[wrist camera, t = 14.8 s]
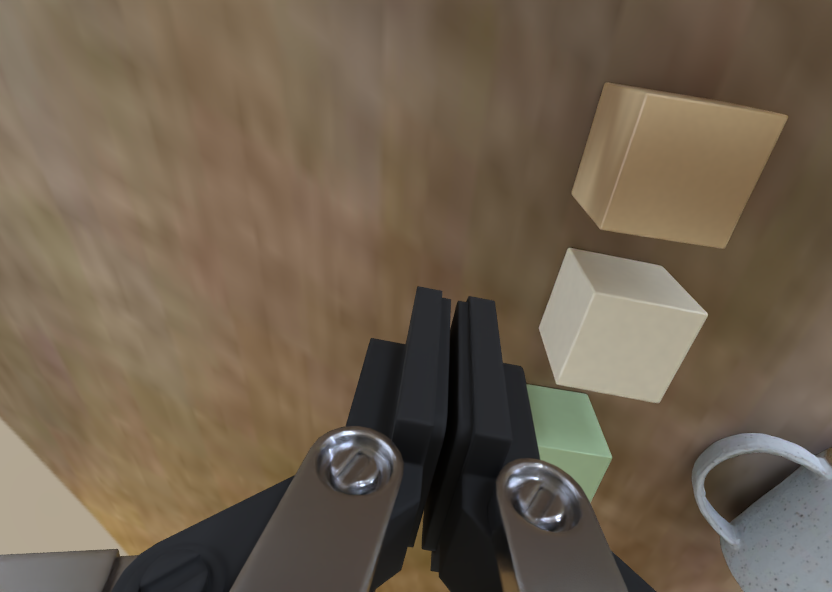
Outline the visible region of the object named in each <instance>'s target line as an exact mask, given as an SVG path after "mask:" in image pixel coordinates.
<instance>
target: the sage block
mask: <svg viewBox="0 0 832 592" xmlns="http://www.w3.org/2000/svg"><path fill="white" fill-rule="evenodd" d="M526 385H527V391H528V396H529V401H530V407H531V412H532V417H533V423H534V428H535V433H536V439H537V444H538V449H539V455H540V460H543V461H546V462H548V463H551V464H553V465H555V466H558V467H559V468H560V469H562V470H563V471H565V472H566V473H568V474H569V475H571V477H572V478H573V479H574V480H575V481H576V482H577V483H578V484H579V485H580V486H581V487H582V489H583V491H584V492H585V494H586V496H587V497H588V499H589V501H590V502H591V500H592V498H593V496H594V494H595V492H596V490H597V488H598V486H599V484H600V482H601V480H602V478H603V476H604V474H605V472H606V470H607V468H608V466H609V464H610V462H611V460H612V455H611V453H610V450H609V448H608V445H607V443H606V440H605V438H604V435H603V433H602V430H601V428H600V425H599V423H598V420H597V418H596V415H595V412H594V410H593V407H592V405H591V402H590V400H589V397H588V395H587V394H584V393H578V392H572V391H566V390H559V389H553V388H547V387H541V386H535V385H529V384H526Z"/></svg>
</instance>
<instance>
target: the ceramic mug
mask: <svg viewBox="0 0 832 592" xmlns="http://www.w3.org/2000/svg"><path fill="white" fill-rule="evenodd" d="M754 452H758V453H761V452H764V453H769V454H773V455H778V456H782V457H784V458H786V459H789V460H791V461H793V462H796V463H798V464H800V465H801V466H800V467H799V468H798V469H797V470H795V471H794V472H793V473H792V474H791V475H789V476H788V477H787V478H786V479H785V480H784V481H782V482H781V483H780V484H779V485H777V486H776V487H774V488H773V489H772V490H770V491H769V492H768V493H766V494H765V495H764V496H762V497H761V498H760V499H758V500H757V501H756V502H754V503H753V504H752V505H751V506H749V507H748V508H747V509H746V510H745V511H744V512H742V513H741V514H740V515H739V516H737V517H736V518H735V519H733V520H732V521H731V522H730V523H728V522H727V521H726V520H725V519H724V518H723V517H721V516H720V515H719V514H718V512H717V511H716V510H715V509H714V508H713V507H712V506H711V504H710V503H709V502H708V500H707V499H706V497H705V495H706V493H705V490H704V479H705V477H706V475H707V474H708V472H709V471H710V470H711V469H712V468H714V467H715V466H716V465H717V464H719V463H720V462H722V461H724V460H726V459H730V458H733V457H736V456H739V455H741V454H751V453H754ZM692 485H693V490H694V496H695V500H696V503H697V505H698V507H699V509H700V512H701V513H702V515H703V516H704V517H705V519H706V520H707V521H708V523H709V524H710V525H711V526H712V528H713V529H714V530H715V531H716V532H717V533H718V534H719V535H720V545H721V549H722V552H723V555H724V558H725V560H726V563H727V565H728V567H729V569H730V571H731V573H732V575H733V577H734V578H735V579H736V581H737V582H738V584H739V585H740V587H741V588H742V590H743V591H744V592H832V447H831V448H829V449H826V450H825V451H823V452H821V453H819V454H817V455H815V456H814V455H813V454H812V453H810V452H808V451H807V450H806V449H804V448H803V447H801V446H799V445H797V444H794V443H792V442H789V441H786V440H783V439H780V438H778V437H774V436H770V435H766V434H759V433H742V434H737V435H733V436H729V437H726V438H723V439H721V440H719V441H716V442H715V443H713V444H712V445H710V446H709V447H708V448H707V449H706V450H705V451H704V452H703V453H702V454H701V455H700V456H699V457H698V459H697V460H696V461H695V464H694V467H693V470H692Z"/></svg>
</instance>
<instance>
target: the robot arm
mask: <svg viewBox="0 0 832 592" xmlns="http://www.w3.org/2000/svg"><path fill="white" fill-rule="evenodd" d="M450 312H451V299H446V298H442V291H440V290H434V289H429V288H424V287H419V286H418V287H417V291H416V296H415V301H414V306H413V311H412V316H411V321H410V326H409V331H408V336H407V341H406V344H400V343H395V342H390V341H384V340H379V339H374V338H371V339H370V343H369V346H368V350H367V353H366V357H365V360H364V364H363V367H362V371H361V374H360V378H359V381H358V385H357V388H356V392H355V395H354V399H353V402H352V406H351V409H350V413H349V416H348V420H347V424H346V427H341V428H337V429H334V430H331V431H329V432H327V433H326V434H324V435H323V436H321V437H320V438H318V439H317V441H316V442H315V443H314V444H313V446H312V447H311V448H310V450H309V452H308V453H307V455H306V457H305V459H304V460H303V462H302V464H301V466H300V467H299V469H298V471H297V473H296V474H295V475H294V476H292V477H290V478H288V479H286V480H284V481H282V482H280V483H278V484H276V485H274V486H272V487H270V488H268V489H266V490H264V491H262V492H260V493H258V494H256V495H254V496H252V497H250V498H248V499H246V500H244V501H242V502H240V503H238V504H236V505H234V506H231V507H229V508H227V509H225V510H223V511H221V512H219V513H217V514H215V515H213V516H211V517H209V518H207V519H205V520H203V521H201V522H199V523H197V524H195V525H193V526H191V527H189V528H187V529H185V530H183V531H181V532H179V533H177V534H175V535H173V536H171V537H169V538H167V539H165V540H163V541H161V542H159V543H157V544H155V545H154V546H152V547H151V548H149V549H147V550H146V551H144V552H143V553H141V554H140V555H135V556H120V555H119V550H118V549H109V550H108V549H107V550H88V551H68V552H50V553H29V554H10V555H9V554H8V555H0V592H375V591H376V588H378V587H379V586H380V585H382V584H383V583H384V582H386V581H387V580H388V579H390V578H391V577H392V576H394V575H395V574H396V573H398V572H399V571H401V569H402V565H403V561H404V558H405V554H406V550H407V547H413V546H414V543H415V539H416V536H417V532H418V529H419V525H420V521H421V518H422V514H423V511H424V517H423V531H422V549H424V550H429V551H432V554H431V571H435V572H439V578H440V579H441V580H442V581H443V583H444V584H445V585H446V586H447V588H448V589H449V590H450V591H451V592H656V591H655V590H654V589H653V588H652V587H651V586H650V585H648V584H647V583H646V582H645V581H644V580H643V579H642V578H641V577H640V576H638V575H637V574H636V573H635V572H634V571H633V570H632V569H631V568H630V567H629V566H627V565H626V564H625V563H624V562H623V561H622V560H621V559H620V558H619V557H617V556H616V555H615V554H614V553H613V552H612V551H611V550H610V548H609V545H608V543H607V541H606V538H605V536H604V534H603V532H602V529H601V527H600V525H599V522H598V520H597V518H596V515H595V513H594V511H593V508H592V506H591V504H590V501H589V499H588V497H587V496H586V494H585V492H584V491H583V489H582V487H581V486H580V485H579V484H578V483H577V482H576V481H575V480H574V479H573V478H572V477H571V475H569V474H568V473H566V472H565V471H563V470H562V469H560V468H559V467H558V466H555V465H553V464H551V463H548V462H546V461H543V460H540V455H539V449H538V444H537V439H536V433H535V428H534V423H533V417H532V412H531V407H530V401H529V396H528V391H527V385H526V380H525V375H524V371H523V368H522V367H521V366H517V365H511V364H506V363H503V361H502V353H501V346H500V338H499V330H498V322H497V315H496V307H495V302H494V301H492V300H487V299H482V298H476V297H471V296H469V297H468V299H467V302H462V301H458V302H457V305H456V309H455V313H454V317H453V321H452V325H451V329H450Z"/></svg>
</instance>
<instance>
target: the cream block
mask: <svg viewBox="0 0 832 592" xmlns="http://www.w3.org/2000/svg"><path fill="white" fill-rule="evenodd" d="M707 316H708V314H707V312H706V311H705V310H704V309H703V308H702V307H701V306H700V305H699V304H698V303H697V302H696V301H695V300H694V299H693V298H692V297H691V296H690V295H689V294H688V293H687V292H686V290H685V289H684V288H683V287H682V286H681V285H680V284H679V283H678V282H677V281H676V280H675V279H674V278H673V277H672V276H671V275H670V274H669V273H668V272H667V271H666V270H665V269H664V267H663V266H660V265H655V264H650V263H645V262H640V261H635V260H630V259H625V258H620V257H615V256H610V255H605V254H600V253H595V252H589V251H584V250H579V249H574V248H568V249H567V252H566V255H565V257H564V260H563V263H562V266H561V268H560V271H559V274H558V277H557V279H556V282H555V285H554V288H553V290H552V293H551V296H550V299H549V301H548V304H547V307H546V309H545V312H544V315H543V318H542V320H541V323H540V326H539V331H540V334H541V337H542V340H543V343H544V347H545V350H546V353H547V356H548V359H549V362H550V366H551V369H552V372H553V375H554V378H555V381H556V384H558V385H562V386H568V387H573V388H578V389H584V390H589V391H594V392H600V393H605V394H610V395H616V396H621V397H626V398H631V399H637V400H642V401H647V402H653V403H659V402H660V401H661V399H662V397H663V395H664V394H665V392H666V390H667V388H668V386H669V385H670V383H671V381H672V379H673V377H674V376H675V374H676V372H677V370H678V368H679V367H680V365H681V363H682V361H683V359H684V358H685V356H686V354H687V352H688V351H689V349H690V347H691V345H692V343H693V342H694V340H695V338H696V336H697V334H698V333H699V331H700V329H701V327H702V325H703V324H704V322H705V320H706V318H707Z"/></svg>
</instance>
